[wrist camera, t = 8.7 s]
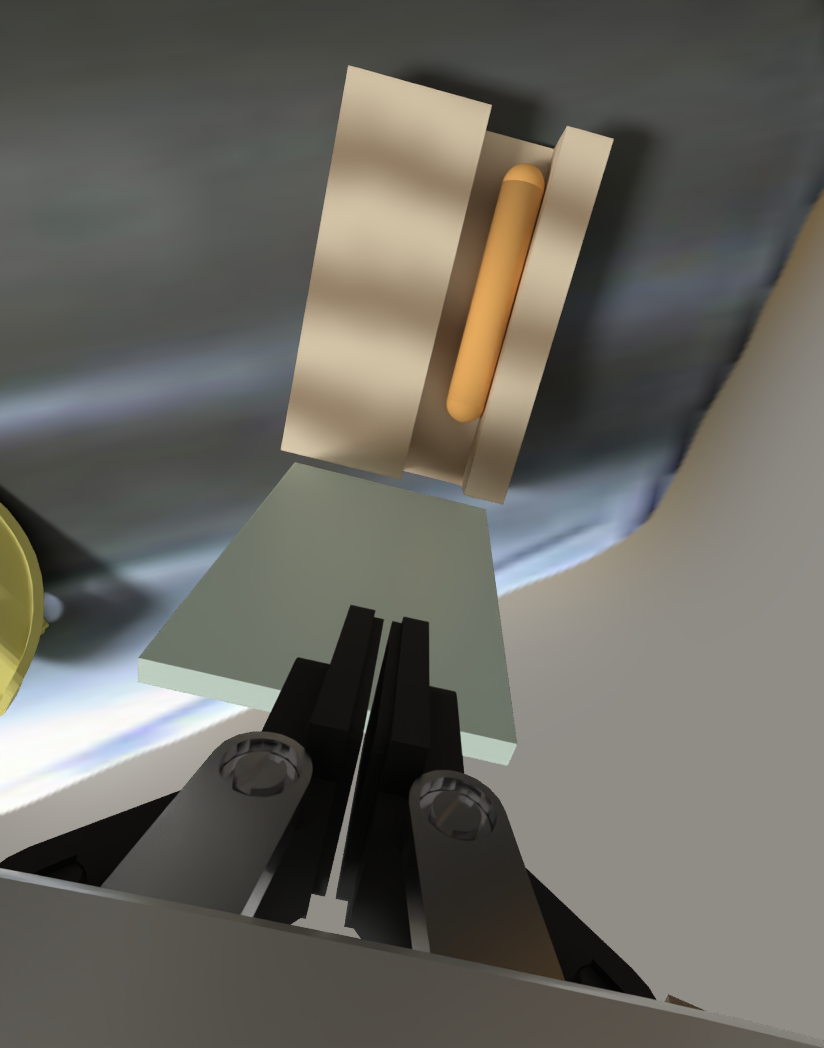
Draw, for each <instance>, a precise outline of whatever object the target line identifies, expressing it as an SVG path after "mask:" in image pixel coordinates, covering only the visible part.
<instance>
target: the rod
mask: <svg viewBox="0 0 824 1048" xmlns="http://www.w3.org/2000/svg"><path fill="white" fill-rule="evenodd" d="M544 188H545V183H544V178H543V175H542V173H541V172H540V170H539V169H538V168H537V167H536V166H534V165H532V164H529V163H522V164H518V165H516V166H514V167H513V168H511V169H510V170H509V171H508V172H507V173H506V175H505V177H504V179H503V181H502V184H501V188H500V192H499V196H498V200H497V204H496V208H495V212H494V216H493V220H492V224H491V227H490V231H489V235H488V239H487V243H486V247H485V251H484V255H483V259H482V263H481V267H480V271H479V274H478V278H477V282H476V286H475V290H474V294H473V298H472V302H471V306H470V310H469V314H468V318H467V321H466V325H465V329H464V333H463V337H462V341H461V345H460V349H459V353H458V357H457V361H456V365H455V368H454V372H453V376H452V380H451V384H450V388H449V392H448V396H447V401H446V405H447V410H448V412H449V414H450V415H451V416H452V417H453V418H454V419H455V420H457V421H460V422H471V421H474V420H476V419H477V418H478V417H479V416H480V415H481V414H482V412H483V410H484V408H485V404H486V400H487V397H488V393H489V389H490V386H491V382H492V379H493V375H494V371H495V368H496V364H497V360H498V357H499V353H500V350H501V346H502V342H503V339H504V335H505V332H506V328H507V324H508V321H509V317H510V313H511V310H512V306H513V303H514V299H515V295H516V292H517V288H518V284H519V281H520V277H521V274H522V270H523V266H524V263H525V259H526V255H527V252H528V248H529V245H530V241H531V237H532V234H533V230H534V226H535V223H536V219H537V216H538V212H539V208H540V205H541V201H542V197H543V194H544Z"/></svg>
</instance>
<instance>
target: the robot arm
mask: <svg viewBox="0 0 824 1048" xmlns="http://www.w3.org/2000/svg"><path fill="white" fill-rule="evenodd" d="M375 611H376V610H373V609H368V608H364V607H359V606H355V605H350V607H349V610H348V613H347V616H346V619H345V622H344V625H343V628H342V630H341V633H340V636H339V639H338V642H337V645H336V648H335V651H334V654H333V657H332V660H331V663H330V664H327V663H323V662H318V661H314V660H309V659H304V658H300V657H297V658H296V660H295V662H294V664H293V666H292V668H291V670H290V672H289V674H288V676H287V679H286V681H285V683H284V685H283V687H282V689H281V691H280V693H279V696H278V698H277V700H276V702H275V704H274V706H273V708H272V710H271V713H270V715H269V717H268V719H267V721H266V723H265V725H264V727H263V730H262V732H249V733H244V734H239V735H237V736H235V737H232V738H230V739H228V740H226V741H224V742H223V743H222V744H221V745H220V746H219V747H217V748H216V749H215V750H214V751H213V752H212V754H211V755H210V756H209V757H208V759H207V760H206V761H205V762H204V763H203V764H202V766H201V767H200V768H199V769H198V770H197V772H196V773H195V774H194V775H193V777H192V778H191V779H190V780H189V781H188V783H187V784H186V785H185V786H184V787H183V789H182V790H180V791H178V792H175V793H172V794H169V795H167V796H164V797H161V798H159V799H156V800H153V801H151V802H148V803H145V804H143V805H140V806H137V807H135V808H132V809H129V810H127V811H124V812H121V813H119V814H116V815H113V816H110V817H108V818H105V819H103V820H100V821H97V822H95V823H92V824H89V825H86V826H84V827H81V828H78V829H76V830H73V831H70V832H68V833H65V834H63V835H60V836H57V837H54V838H52V839H49V840H47V841H44V842H41V843H38V844H36V845H33V846H30V847H28V848H26V849H24V850H22V851H20V852H18V853H16V854H14V855H12V856H10V857H8V858H6V859H5V860H4V861H2V862H1V863H0V1048H824V1040H821V1039H817V1038H813V1037H810V1036H806V1035H802V1034H798V1033H794V1032H790V1031H786V1030H782V1029H778V1028H774V1027H771V1026H767V1025H763V1024H759V1023H755V1022H751V1021H747V1020H743V1019H739V1018H735V1017H730V1016H725V1015H720V1014H716V1013H711V1012H707V1011H705V1010H703V1009H701V1008H698V1007H696V1006H694V1005H691V1004H689V1003H687V1002H685V1001H682V1000H680V999H678V998H675V997H673V996H671V995H669V994H668V996H667V998H666V1000H665V1002H662V1001H657V1000H656V998H655V997H654V995H653V994H652V992H651V990H650V989H649V987H648V986H647V985H646V984H645V982H644V981H643V980H642V979H641V978H640V977H639V976H638V975H637V973H636V972H635V971H634V970H633V969H632V968H631V967H630V966H629V965H628V964H627V963H626V962H625V961H624V960H623V959H622V958H620V957H619V956H618V955H617V954H616V953H615V952H614V951H613V950H612V949H611V948H610V947H609V946H608V945H607V944H606V943H604V941H603V940H601V939H600V938H599V937H598V936H597V935H596V934H595V933H594V932H593V931H592V930H591V929H590V928H589V927H588V926H587V925H586V924H585V923H583V922H582V921H581V920H580V919H579V918H578V917H577V916H576V915H575V914H574V913H573V912H572V911H571V910H570V909H569V908H568V907H567V906H566V905H564V904H563V903H562V902H561V901H560V900H559V899H558V898H557V897H556V896H555V895H554V894H553V893H552V892H551V891H550V890H549V889H548V888H547V887H545V886H544V885H543V884H542V883H541V882H540V881H539V880H538V879H537V878H536V877H535V876H534V875H533V874H532V873H531V872H530V871H529V870H528V869H526V868H525V865H524V862H523V860H522V857H521V854H520V851H519V848H518V845H517V842H516V840H515V837H514V834H513V831H512V828H511V826H510V822H509V820H508V817H507V814H506V811H505V809H504V807H503V806H502V804H501V802H500V800H499V798H498V797H497V796H496V795H495V794H494V793H493V792H492V791H491V790H490V789H489V788H488V787H487V786H485V785H484V784H482V783H481V782H480V781H478V780H477V779H475V778H473V777H471V776H468V775H466V774H464V766H463V755H462V745H461V734H460V723H459V712H458V701H457V694H456V692H455V691H451V690H447V689H442V688H438V687H433V686H430V680H429V622H427V621H422V620H418V619H413V618H409V617H403V620H402V623H399V622H395V621H392V624H391V627H390V632H389V636H388V640H387V644H386V648H385V653H384V657H383V661H382V665H381V669H380V674H379V678H378V682H377V686H376V690H375V695H374V699H373V703H372V707H371V711H370V716H369V720H368V724H367V728H366V733H365V737H364V742H363V747H362V752H361V759H360V764H359V770H358V775H357V781H356V787H355V792H354V798H353V803H352V809H351V814H350V820H349V826H348V832H347V837H346V843H345V849H344V854H343V860H342V865H341V871H340V876H339V882H338V888H337V894H336V899H340V900H345V901H348V906H347V913H346V919H345V925H344V926H345V927H349V928H354V930H355V931H356V932H357V934H358V935H359V936H360V938H361V939H358V938H353V937H349V936H343V935H339V934H334V933H328V932H324V931H319V930H314V929H308V928H303V927H299V926H294V925H290V924H292V923H293V922H295V921H297V920H298V919H300V918H305V919H306V915H307V911H308V907H309V902H310V898H311V894H315V895H320V896H325V894H326V890H327V886H328V882H329V878H330V873H331V869H332V865H333V861H334V856H335V852H336V848H337V844H338V840H339V835H340V831H341V827H342V823H343V818H344V814H345V810H346V806H347V802H348V797H349V793H350V789H351V785H352V780H353V776H354V772H355V768H356V764H357V759H358V755H359V751H360V746H361V741H362V737H363V732H364V728H365V722H366V717H367V711H368V706H369V700H370V695H371V689H372V684H373V678H374V673H375V667H376V662H377V656H378V651H379V645H380V640H381V634H382V629H383V623H384V619H381V618H377V617H374V615H375Z"/></svg>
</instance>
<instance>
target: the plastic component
mask: <svg viewBox="0 0 824 1048" xmlns="http://www.w3.org/2000/svg"><path fill="white" fill-rule="evenodd" d="M43 613H44V590H43V583H42V575H41V571H40V568H39V564H38V561H37V557H36V554H35V552H34V550H33V548H32V546H31V544H30V542H29V539H28V537H27V536H26V534H25V533H24V531H23V530H22V528H21V526H20V525H19V524H18V522H17V521H16V520H15V518H14V517H13V516H12V514H11V513H10V512H9V511H8V509H7V508H5V507H4V506H3V505H2V504H1V503H0V716H2V715H3V714H4V713H5V712H6V710H7V709H8V708H9V706H10V705H11V703H12V702H13V700H14V699H15V697H16V695H17V693H18V691H19V689H20V686H21V684H22V681H23V679H24V677H25V675H26V673H27V671H28V669H29V666H30V664H31V662H32V660H33V657H34V654H35V652H36V649H37V646H38V643H39V639H40V635H42V634H43V633H45V630H44V629H46V628H47V627H49V624H48V623H47V622H46V621H45V619H44V617H43Z"/></svg>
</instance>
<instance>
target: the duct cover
mask: <svg viewBox="0 0 824 1048" xmlns="http://www.w3.org/2000/svg"><path fill="white" fill-rule="evenodd" d="M350 605H355V606H359V607H364V608H368V609H373V610H376V611H375V615H374V617H377V618H381V619H384V623H383V629H382V634H381V640H380V645H379V651H378V656H377V662H376V667H375V673H374V678H373V684H372V689H371V695H370V700H369V706H368V711H367V717H366V722H365V728H364V732H363V733H366V728H367V724H368V720H369V716H370V711H371V707H372V703H373V699H374V695H375V690H376V686H377V682H378V678H379V674H380V669H381V665H382V661H383V657H384V653H385V648H386V644H387V640H388V636H389V632H390V627H391V624H392V621H395V622H399V623H402V620H403V617H409V618H413V619H418V620H422V621H427V622H429V680H430V686H433V687H438V688H442V689H447V690H451V691H455V692H456V694H457V701H458V712H459V723H460V734H461V745H462V755H463V756H467V757H472V758H476V759H480V760H485V761H489V762H494V763H498V764H503V765H508V763H509V761H510V759H511V756H512V754H513V752H514V750H515V748H516V745H517V739H516V732H515V725H514V717H513V709H512V702H511V694H510V687H509V680H508V672H507V665H506V657H505V651H504V642H503V635H502V628H501V620H500V612H499V606H498V598H497V590H496V583H495V575H494V568H493V560H492V553H491V545H490V538H489V531H488V523H487V516H486V509H483V508H479V507H475V506H471V505H466V504H462V503H458V502H454V501H450V500H446V499H442V498H438V497H434V496H430V495H426V494H422V493H418V492H413V491H409V490H405V489H401V488H397V487H393V486H389V485H385V484H381V483H377V482H373V481H369V480H365V479H361V478H356V477H352V476H348V475H344V474H340V473H336V472H332V471H328V470H324V469H320V468H316V467H312V466H308V465H304V464H299V463H294V464H293V465H292V466H291V468H290V469H289V470H288V471H287V473H286V474H285V475H284V476H283V478H282V479H281V480H280V481H279V483H278V484H277V485H276V486H275V488H274V489H273V490H272V491H271V493H270V494H269V495H268V496H267V498H266V499H265V500H264V501H263V503H262V504H261V505H260V506H259V508H258V509H257V510H256V511H255V513H254V514H253V515H252V516H251V518H250V519H249V520H248V521H247V523H246V524H245V525H244V526H243V528H242V529H241V530H240V531H239V533H238V534H237V535H236V536H235V538H234V539H233V540H232V541H231V543H230V544H229V545H228V546H227V548H226V549H225V550H224V551H223V553H222V554H221V555H220V556H219V558H218V559H217V560H216V561H215V563H214V564H213V565H212V566H211V568H210V569H209V570H208V571H207V573H206V574H205V575H204V576H203V578H202V579H201V580H200V581H199V583H198V584H197V585H196V586H195V588H194V589H193V590H192V591H191V593H190V594H189V595H188V596H187V598H186V599H185V600H184V601H183V603H182V604H181V605H180V606H179V608H178V609H177V610H176V611H175V613H174V614H173V615H172V616H171V618H170V619H169V620H168V621H167V623H166V624H165V625H164V626H163V628H162V629H161V630H160V631H159V633H158V634H157V635H156V636H155V638H154V639H153V640H152V641H151V643H150V644H149V645H148V646H147V648H146V649H145V650H144V651H143V653H142V654H141V655H140V656H139V658H138V682H140V683H144V684H149V685H153V686H158V687H162V688H166V689H171V690H175V691H180V692H184V693H189V694H193V695H197V696H202V697H206V698H211V699H215V700H219V701H224V702H228V703H233V704H237V705H242V706H246V707H250V708H255V709H260V710H264V711H268V712H271V710H272V708H273V706H274V704H275V702H276V700H277V698H278V696H279V693H280V691H281V689H282V687H283V685H284V683H285V681H286V679H287V676H288V674H289V672H290V670H291V668H292V666H293V664H294V662H295V660H296V658H297V657H300V658H304V659H309V660H314V661H318V662H323V663H327V664H330V663H331V660H332V657H333V654H334V651H335V648H336V645H337V642H338V639H339V636H340V633H341V630H342V628H343V625H344V622H345V619H346V616H347V613H348V610H349V607H350Z"/></svg>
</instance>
